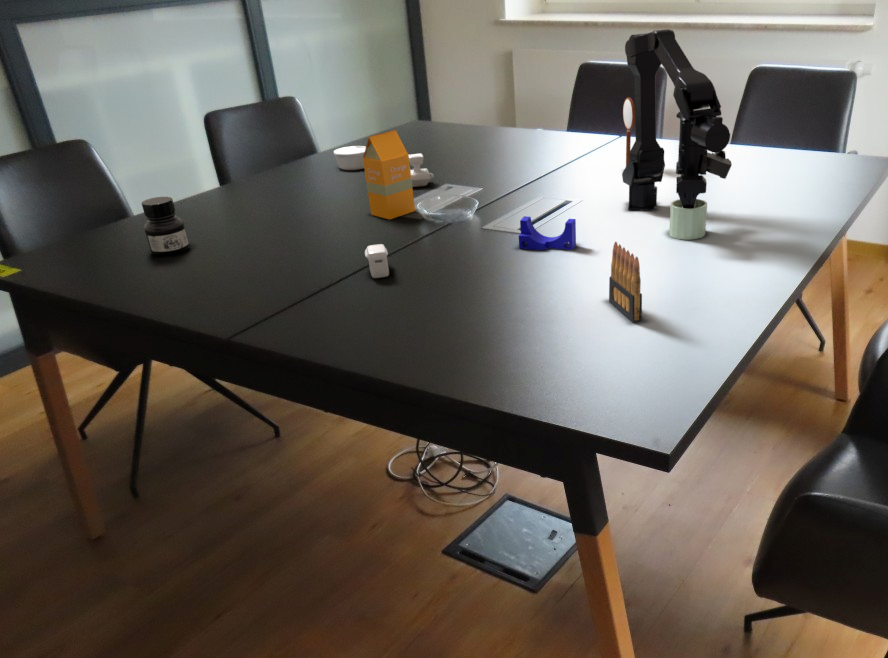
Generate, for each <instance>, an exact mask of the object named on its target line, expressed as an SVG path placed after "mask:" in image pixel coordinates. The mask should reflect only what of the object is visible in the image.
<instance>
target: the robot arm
mask: <svg viewBox="0 0 888 658" xmlns="http://www.w3.org/2000/svg"><path fill="white" fill-rule="evenodd" d="M624 52H625V56H626V63H627V67H628V68H629V69H630V71H631V73H632V74H633V76H634V77H633V78H634V107H635V124H634V128H635V141H634V142H633V145H632V147H631V148H630V152H629V162H628V164H627V166H626V165H625V167H624V169H623V171H622V173H621V176H622V182H623V183H624V184H625V185H627V186H628V205H627V210H628V211H654V210H655V207H656V206H657V203H658V202H657V200H658V186H656V183H661V182H662V181H663V177H664V172H665V167H666V162H665V148H664V147H661V146H660V144H659V143H658V140H657V94H656V93H657V86H656V84H657V83H656V82H657V81H656V78H657V73H658V72H659V68H660V67H661V66H662V67H663V69H664V71H665V72H666V74H667V75H668V77H669V78H670V80H671V82H672V84H673V86H674V88H673V93H672V94H673V98H674V101H675V104H676V106H677V108H678V110H679V111H678V112H677V113H676V118H677V119H679V133H678V134H679V138H678V158H677V162H676V163H675V174H676V175H678V176H676V177H675V178H676V186H675V189H676V190H675V191H676V194H677V195H678V197H679V199H680V201H681V203H682V206H683V208H694V205H695V202H696V199H698V196H699V195H701V194H706V193H707V185H708V184H707V179H706V178H705V177H704V176H706V175H707V173H709V174H712V175H715V176H718V177H719V178H721V179H724V180H726V179H727V176H728V174H729V172H730V170H731V168H732V161H731V160H730V158H726V151H725V149H726V147H727V146H728V145H729V143H730V140H731V133H730V130H729V129H730V128H729V127H728V126H727V125H726V124H725V123H723V120H724V119H723V116H722V110H721V108H722V105H721V103H720V100H719V98H718V96H717V91H716V88H715V86H714V83H713V82H712V80H711V79H710V78H709V77H708V76H707V75H706V74H705V73H704V72H701V71H699V70H696V69H695V68H694V66H693V65H692V64H691V62H690V61H689V59H688V57H687V55H686V54H685V52H684V51H683V48H682V47H681V46H680V44H679V42H678V41H677V39H676V34H675V31H674V30H673V29H669V28H666V29H655V30H653V31H650V32H645V33H635V34H631V35H630V36H629V38H628V39H627V40H626V41H625V45H624ZM708 151H709V152H708ZM679 175H680V176H679Z"/></svg>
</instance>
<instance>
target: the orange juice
mask: <svg viewBox="0 0 888 658" xmlns="http://www.w3.org/2000/svg"><path fill="white" fill-rule="evenodd" d="M365 147H366V149H365V152H364V156H363V163H364V168H363V169H364V176H365V182H366V183H365V184H366V191H367V196H368V203H369V209H370V215H371V216H375V217H378V218H382V219H386V220H393V219H396V218H398V217H401V216H404V215H408V214H410V213H413V212H416V206H415V198H414V189H413V188H414V187H413V186H412V178H411V172H410V170H411V164H410V161H409V155H410V154H409V153H408V151H407V149H406V148H405V146H404V144H403V142H402V140H401V138H400V136H399V134H398V132H397V130H396V129H393V130H390V131H385V132H381V133H378V134H374V135H370V136H368V138H367V142H366V146H365Z"/></svg>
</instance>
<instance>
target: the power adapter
mask: <svg viewBox="0 0 888 658" xmlns="http://www.w3.org/2000/svg"><path fill="white" fill-rule="evenodd" d="M388 254H389V252H388V249H387V248H386V247H385V245H384V244H383V243H378V244H371V245H368V246H367V247H366V248H365V250H364V256H365V258H366V259H367V260H368V266H369V271H370V276H371V277H372V278H373V279H379V278H387V277H389V276H390V269H389V267H390V266H389V260H388Z"/></svg>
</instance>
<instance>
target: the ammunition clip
mask: <svg viewBox="0 0 888 658" xmlns="http://www.w3.org/2000/svg"><path fill="white" fill-rule="evenodd" d="M640 268H641V267H640V260H639V257H638V256H635V255H634V253H630V250H626V248H625V247H622V245H621V244H618V242H617V240H615V241H614V243H613V247H612V256H611V263H610V276H609V279H608V280H609V282H608V283H609V285H608V286H609V287H608V302H609V304H611V305H612V306H613V307H614V308H615V309H616V310H617V311H619V313H621V314H622V315H623V317H625V318H626V319H628V320H629V321H630V322H631V323H638V322H643V294H642V293H641V287H642V286H641V285H642V283H641V272H640V271H641V269H640Z"/></svg>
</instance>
